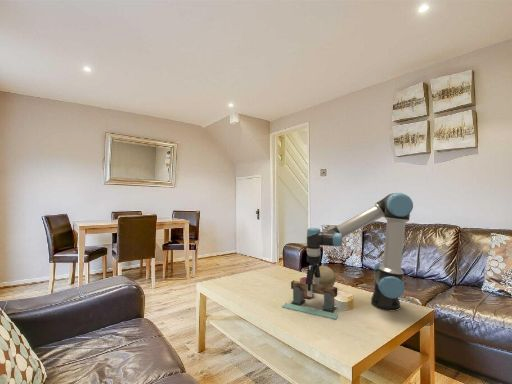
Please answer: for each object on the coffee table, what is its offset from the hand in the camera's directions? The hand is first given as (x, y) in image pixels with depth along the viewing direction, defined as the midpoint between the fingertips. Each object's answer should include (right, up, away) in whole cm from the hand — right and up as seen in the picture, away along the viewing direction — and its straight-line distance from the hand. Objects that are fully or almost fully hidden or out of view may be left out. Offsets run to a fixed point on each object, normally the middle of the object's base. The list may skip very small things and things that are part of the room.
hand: (313, 292), depth 151 cm
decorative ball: (+13, -8, +28) cm, 32 cm away
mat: (-4, -8, -7) cm, 11 cm away
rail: (0, 0, 0) cm, 0 cm away
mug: (0, -8, +15) cm, 17 cm away
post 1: (-8, -8, +4) cm, 12 cm away
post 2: (+8, -8, -5) cm, 12 cm away
